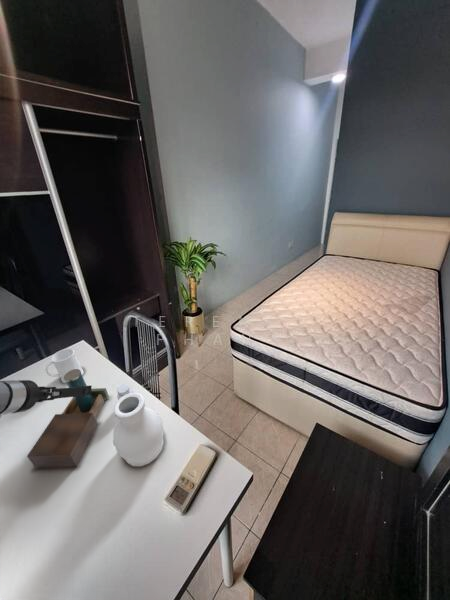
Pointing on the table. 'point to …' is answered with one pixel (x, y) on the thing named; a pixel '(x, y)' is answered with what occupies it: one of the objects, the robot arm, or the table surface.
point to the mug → (64, 363)
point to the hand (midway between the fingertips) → (69, 390)
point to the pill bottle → (123, 390)
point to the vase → (137, 430)
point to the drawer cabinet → (63, 441)
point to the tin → (76, 380)
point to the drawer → (96, 395)
